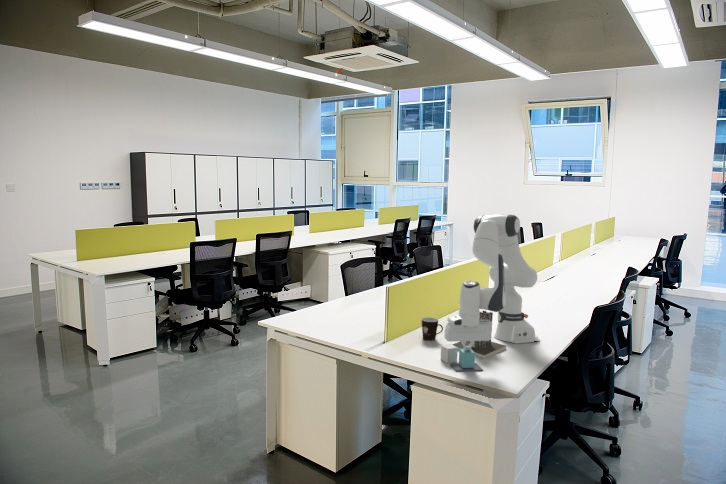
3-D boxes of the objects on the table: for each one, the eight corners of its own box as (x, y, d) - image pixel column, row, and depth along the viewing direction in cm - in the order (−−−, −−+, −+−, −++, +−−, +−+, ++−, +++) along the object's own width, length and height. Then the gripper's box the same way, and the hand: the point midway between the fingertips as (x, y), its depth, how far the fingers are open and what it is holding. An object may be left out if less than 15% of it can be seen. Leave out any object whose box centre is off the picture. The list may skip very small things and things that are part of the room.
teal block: (470, 363, 217) (470, 348, 216) (474, 367, 212) (475, 352, 211) (458, 363, 216) (459, 349, 215) (462, 368, 211) (463, 353, 210)
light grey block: (449, 357, 226) (450, 343, 225) (456, 361, 221) (457, 347, 220) (440, 359, 223) (441, 345, 222) (447, 363, 219) (448, 349, 218)
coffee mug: (417, 336, 256) (418, 317, 254) (432, 335, 259) (433, 316, 257) (428, 343, 245) (429, 324, 244) (443, 342, 248) (444, 322, 247)
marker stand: (476, 364, 219) (476, 348, 218) (482, 370, 211) (483, 355, 210) (450, 364, 217) (450, 349, 216) (455, 371, 209) (456, 355, 208)
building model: (473, 340, 253) (475, 306, 251) (508, 350, 239) (511, 314, 237) (450, 348, 239) (452, 313, 237) (487, 359, 225) (489, 322, 223)
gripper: (489, 317, 216) (487, 347, 218) (444, 317, 213) (442, 348, 215) (494, 321, 210) (493, 352, 212) (448, 321, 207) (446, 353, 209)
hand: (467, 350), depth 213 cm, fingers closed
